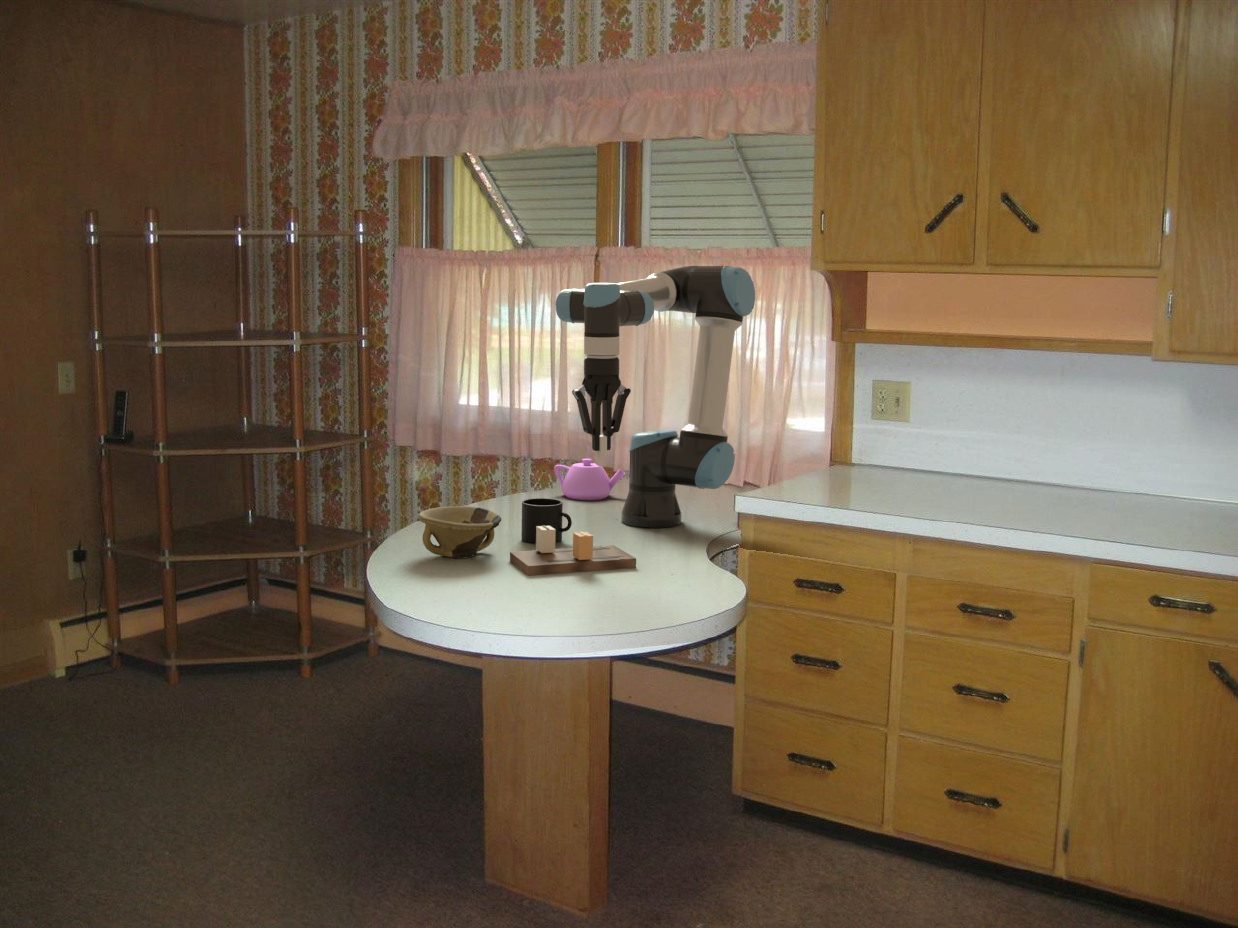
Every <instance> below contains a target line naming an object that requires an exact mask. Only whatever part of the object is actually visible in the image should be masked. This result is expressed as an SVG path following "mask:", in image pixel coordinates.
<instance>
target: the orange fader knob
mask: <svg viewBox="0 0 1238 928" xmlns="http://www.w3.org/2000/svg"><path fill="white" fill-rule="evenodd" d="M593 547H594V535H593V534H591V533H590V532H587V531H579V532H572V548H573V556H574V557H575V558H577V559H578V560H586V559H593Z"/></svg>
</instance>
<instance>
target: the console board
mask: <svg viewBox="0 0 1238 928" xmlns="http://www.w3.org/2000/svg"><path fill="white" fill-rule="evenodd" d="M509 562H511V564H513V565H514V566H515V567H517V568H518V569H519V570H520V571H521V572H523V573H525V574H526V576H537V575H538V576H539V575H541V576H542V575H551V574H554V575H555V574H564V573H565V574H567V573H578V572H592V571H609V570H622V569H635V568H637V558H636V557H634V556H633V555H631V554H630V553H627V552H626V551H624V549H623V550H622V549H621V548H619V547H617V546H616V545H599V546H593V559H586V560H578V559H577V558H575V557H574V556H573V547H569V548H568V547H566V548H555V552H552V553H541V552H539V551H538V550H537V549H535V550H534V549H533V550H520V551H510V552H509Z"/></svg>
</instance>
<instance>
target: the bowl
mask: <svg viewBox="0 0 1238 928" xmlns="http://www.w3.org/2000/svg"><path fill="white" fill-rule="evenodd" d="M418 517H419V521H420V522H421V523H422V524H424V525H425V527H424V530H423V533H422V543H423V546H424V547H425V549H426V550H428V551H429V552H430V553H432V554H434V555H437V556H441V557H447V558H452V559H467V558H471V557H473V556H475V555H476V554H477V553H478V552H480V551H482V550H485V549H486V548H488V547H490V545H491V544H492V543H493V541H494V539H495V529H496V528H497V527H498V526H500V523H501V521H502V517H501V515H499V514H498V513H496V512H494V511H493V510H489V509H486V508H481V507H478V506H476V507H475V506H469V505H467V506H466V505H463V506H462V505H459V506H457V505H456V506H439V507H434V508H433V507H432V508H429V509H426V510H422V511H420V512H419V513H418ZM432 536H433V537H434V540H435V541H436V542H437V543H438V545H435V544H434V543H433V542H432V541H431V537H432Z"/></svg>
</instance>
